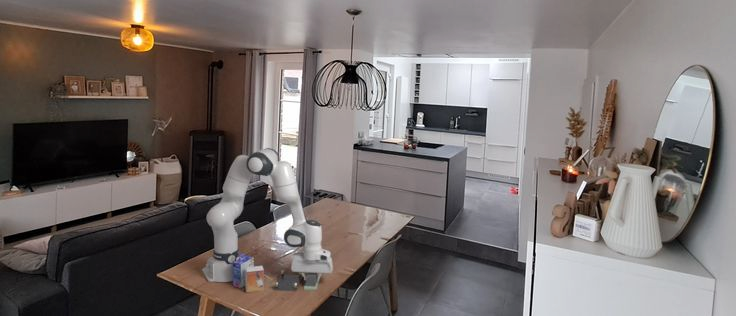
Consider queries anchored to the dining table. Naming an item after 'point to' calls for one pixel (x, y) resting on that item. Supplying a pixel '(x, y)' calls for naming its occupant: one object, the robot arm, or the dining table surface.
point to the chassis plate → (288, 282)
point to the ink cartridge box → (241, 270)
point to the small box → (254, 279)
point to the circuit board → (311, 281)
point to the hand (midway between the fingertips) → (311, 280)
